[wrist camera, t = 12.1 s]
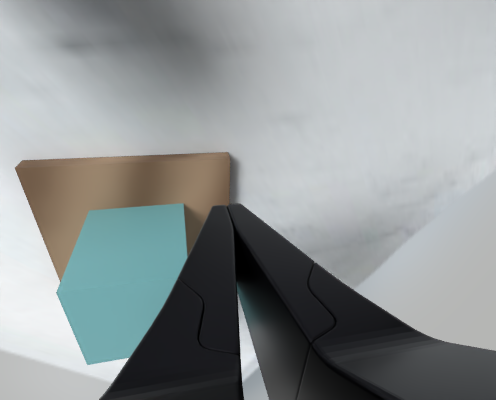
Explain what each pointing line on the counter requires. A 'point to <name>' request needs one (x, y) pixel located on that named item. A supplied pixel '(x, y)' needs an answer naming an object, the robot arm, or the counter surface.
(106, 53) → the counter surface
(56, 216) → the base board
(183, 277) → the robot arm
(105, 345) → the teal cube
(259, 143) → the counter surface
